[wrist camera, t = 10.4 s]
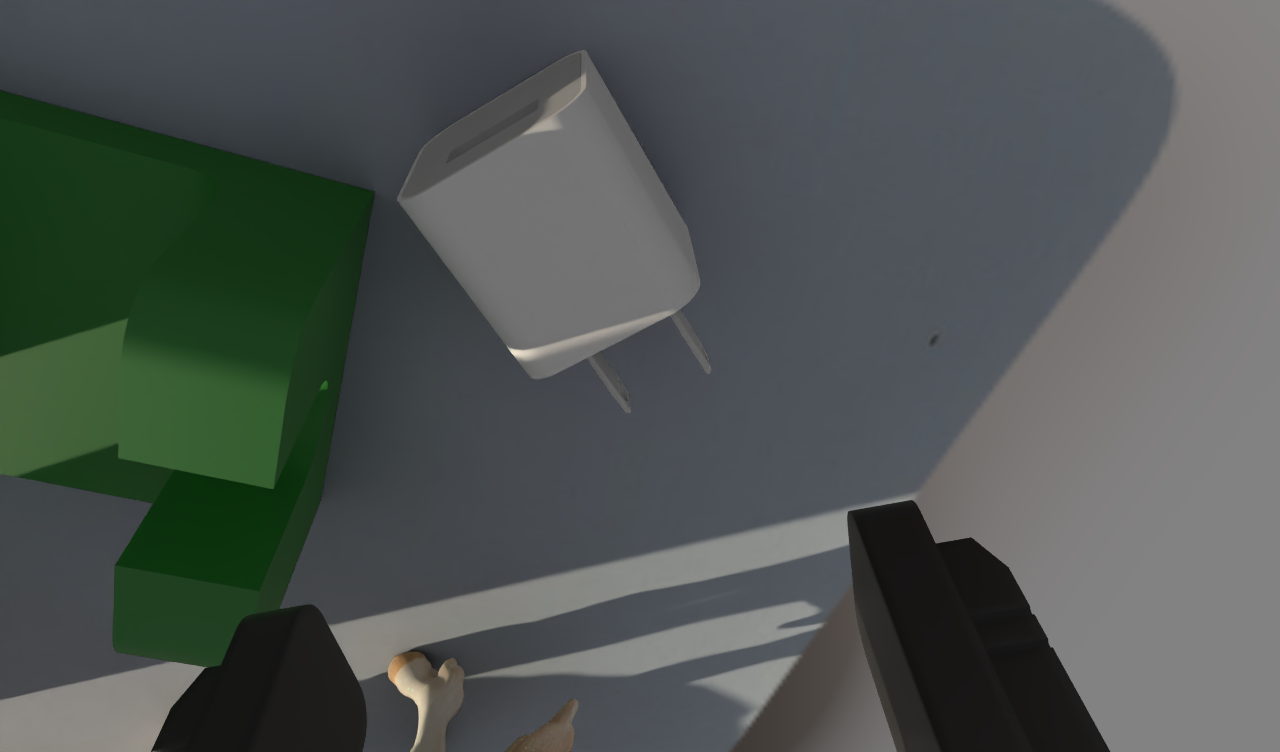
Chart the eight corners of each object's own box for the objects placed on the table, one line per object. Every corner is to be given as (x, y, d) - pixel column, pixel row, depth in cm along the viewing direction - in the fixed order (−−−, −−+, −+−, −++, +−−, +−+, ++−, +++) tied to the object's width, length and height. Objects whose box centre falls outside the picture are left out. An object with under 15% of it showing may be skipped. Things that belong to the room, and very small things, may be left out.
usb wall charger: (586, 43, 19) (586, 97, 15) (735, 304, 22) (762, 396, 19) (424, 141, 19) (389, 212, 16) (591, 377, 23) (592, 477, 19)
